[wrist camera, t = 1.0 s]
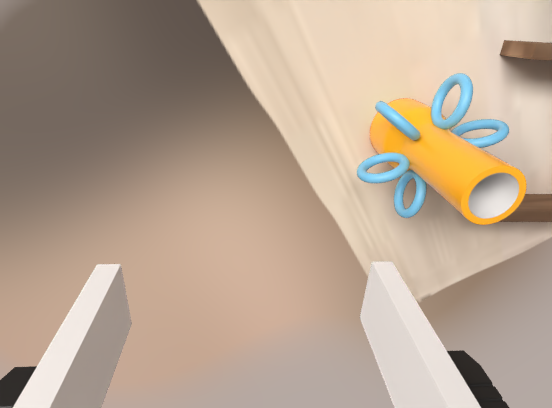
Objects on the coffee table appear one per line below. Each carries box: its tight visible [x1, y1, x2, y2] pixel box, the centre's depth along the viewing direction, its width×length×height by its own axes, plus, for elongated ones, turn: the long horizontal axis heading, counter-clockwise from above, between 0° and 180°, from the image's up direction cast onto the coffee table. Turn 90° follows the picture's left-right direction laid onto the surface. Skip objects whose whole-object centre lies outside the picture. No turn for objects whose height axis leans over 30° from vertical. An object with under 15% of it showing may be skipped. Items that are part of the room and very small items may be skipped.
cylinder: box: [357, 73, 526, 225], centre depth 28 cm, size 12×10×15 cm
